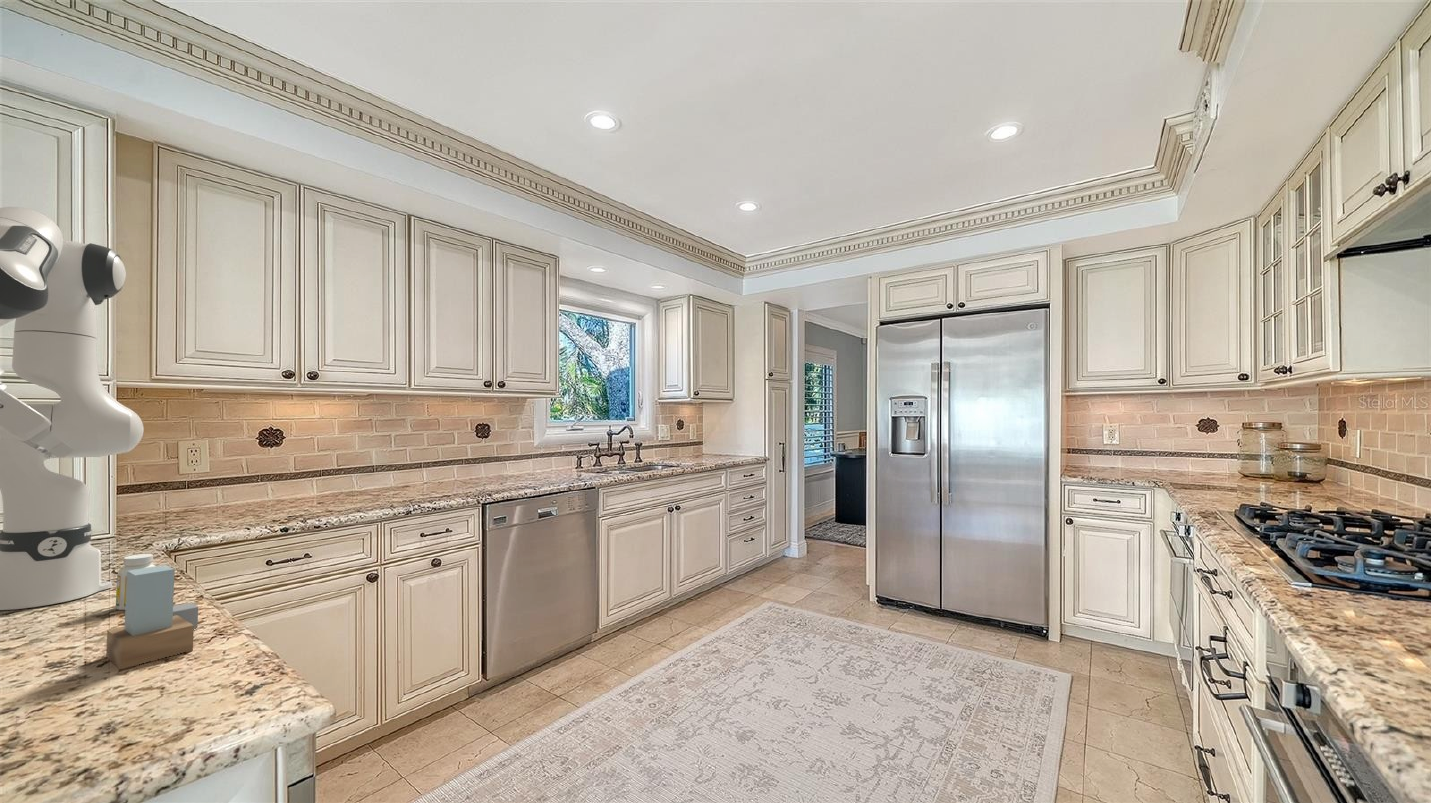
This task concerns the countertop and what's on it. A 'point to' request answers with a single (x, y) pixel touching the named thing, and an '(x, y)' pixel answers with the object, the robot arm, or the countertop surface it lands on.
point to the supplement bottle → (130, 564)
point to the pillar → (149, 599)
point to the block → (187, 613)
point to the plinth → (149, 644)
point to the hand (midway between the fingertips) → (60, 452)
